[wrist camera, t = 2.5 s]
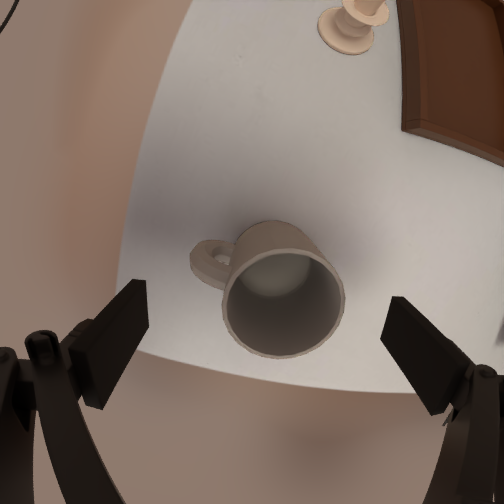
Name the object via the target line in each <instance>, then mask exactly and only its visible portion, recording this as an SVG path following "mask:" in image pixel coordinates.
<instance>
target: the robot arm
mask: <svg viewBox="0 0 504 504" xmlns="http://www.w3.org/2000/svg"><path fill="white" fill-rule="evenodd" d="M18 2H19V0H15V2H14V4H13V6H12V8H11V10H10V12H9V13H8V15H7V17H6V18H5V20H4V22H3V23H2V25H1V26H0V33H1V32H2V30H3V29H4V27H5V26H6V24H7V23H8V21H9V19H10V17H11V16H12V14H13V12H14V10H15V9H16V6H17V4H18ZM148 328H149V320H148V307H147V291H146V280H138V279H132V280H131V281H130V282H129V283H128V284H127V285H126V286H125V287H124V288H123V289H122V290H121V291H120V292H119V293H118V294H117V295H116V296H115V297H114V298H113V300H111V301H110V302H109V304H108V305H107V306H106V307H105V308H104V309H103V310H102V311H101V312H100V313H99V314H98V315H97V316H96V318H94V320H93V319H86V320H84V321H82V322H80V323H79V324H78V325H77V326H76V327H75V328H74V329H73V331H71V332H70V333H69V334H68V335H67V336H66V337H65V338H64V339H63V340H62V341H61V343H59V342H58V338H57V336H56V334H55V333H54V332H52V331H48V330H39V331H36V332H33V333H31V334H30V335H28V336H27V337H26V339H25V346H26V349H27V352H28V355H29V358H30V360H26V359H18V358H17V355H16V353H15V351H14V350H13V349H12V348H10V347H0V504H34V491H33V443H34V442H33V441H34V428H35V416H36V411H38V412H39V417H40V421H41V426H42V430H43V434H44V438H45V442H46V446H47V450H48V453H49V456H50V460H51V463H52V466H53V469H54V472H55V475H56V478H57V481H58V484H59V486H60V489H61V492H62V494H63V497H64V499H65V502H66V504H126V503H125V501H124V500H123V498H122V496H121V495H120V493H119V491H118V489H117V488H116V486H115V484H114V482H113V480H112V478H111V476H110V475H109V473H108V471H107V469H106V467H105V465H104V463H103V461H102V459H101V457H100V455H99V452H98V450H97V448H96V446H95V444H94V442H93V439H92V437H91V434H90V432H89V430H88V428H87V425H86V422H85V420H84V417H83V415H82V412H81V409H80V407H79V404H78V400H79V398H80V397H81V395H82V397H83V399H84V402H85V405H86V406H90V407H94V408H97V409H100V410H103V408H104V406H105V404H106V403H107V401H108V399H109V397H110V395H111V393H112V391H113V389H114V387H115V386H116V384H117V382H118V380H119V378H120V377H121V375H122V373H123V371H124V370H125V368H126V366H127V364H128V363H129V361H130V359H131V357H132V355H133V354H134V352H135V350H136V348H137V347H138V345H139V343H140V342H141V340H142V338H143V336H144V335H145V333H146V331H147V330H148ZM380 340H381V341H382V343H383V344H384V346H385V347H386V348H387V350H388V351H389V353H390V354H391V356H392V357H393V359H394V360H395V362H396V363H397V364H398V366H399V367H400V369H401V370H402V372H403V373H404V375H405V376H406V378H407V379H408V381H409V382H410V384H411V385H412V387H413V388H414V390H415V392H416V393H417V395H418V396H419V397H420V399H421V401H422V402H423V404H424V405H425V407H426V408H427V410H428V412H429V413H430V415H431V416H433V415H437V414H441V413H444V411H445V410H446V408H447V406H448V405H449V403H451V404H452V406H453V409H452V411H451V412H450V414H449V415H448V417H447V419H446V420H445V422H444V423H443V426H445V424H446V423H448V424H447V428H446V433H445V437H444V441H443V444H442V448H441V452H440V456H439V459H438V462H437V465H436V468H435V471H434V474H433V478H432V480H431V483H430V486H429V488H428V491H427V494H426V497H425V499H424V501H423V504H504V375H497V372H496V371H495V370H494V369H493V368H491V367H490V366H487V365H483V364H479V365H477V366H476V365H475V364H474V363H473V362H472V361H471V360H470V358H469V357H468V356H467V355H466V354H465V353H464V352H462V350H461V349H460V348H458V346H457V345H456V344H455V343H454V342H453V341H451V340H450V339H448V338H446V337H445V336H444V335H443V334H442V333H441V332H440V331H439V330H438V329H437V328H436V327H435V326H434V325H433V324H432V323H431V322H430V321H429V320H428V319H427V318H426V317H425V316H424V315H423V314H421V313H420V312H419V311H418V310H417V309H416V308H415V307H414V306H413V305H412V304H411V303H410V302H409V301H408V300H406V299H405V298H404V297H398V296H392V299H391V303H390V306H389V310H388V314H387V317H386V321H385V324H384V328H383V331H382V334H381V338H380ZM493 493H494V501H495V502H493Z"/></svg>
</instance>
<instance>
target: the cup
mask: <svg viewBox="0 0 504 504" xmlns="http://www.w3.org/2000/svg"><path fill="white" fill-rule="evenodd" d="M219 261H220V262H219ZM221 262H224V263H227V264H229V265H226V264H223V263H221ZM190 265H191V269H192V271H193V273H194V274H195V275H196V276H197V277H198V278H199V279H200V280H202V281H203V282H205V283H207V284H209V285H211V286H213V287H215V288H218V289H221V290H223V291H224V295H223V300H222V313H223V320H224V322H225V325H226V327H227V330H228V332H229V333H230V335H231V336H232V337H233V338H234V340H235V341H236V342H237V343H238V344H239V345H240V346H242V347H243V348H245V349H246V350H247V351H249V352H251V353H254V354H256V355H259V356H261V357H265V358H272V359H288V358H294V357H298V356H301V355H304V354H307V353H309V352H311V351H313V350H314V349H316V348H318V347H320V346H321V345H322V344H323V343H324V342H325V341H327V340H328V339H329V338H330V337H331V336H332V334H333V333H334V331H335V330H336V329H337V327H338V326H339V324H340V321H341V318H342V316H343V313H344V307H345V293H344V288H343V283H342V281H341V279H340V277H339V276H338V274H337V272H336V270H335V269H334V268H333V266H332V265H331V264H330V263H329V262H328V260H327V259H326V258H325V257H324V256H323V254H322V253H321V252H320V251H319V250H318V249H317V247H316V246H315V245H314V244H313V243H312V241H311V240H310V239H309V238H308V237H307V236H306V235H305V234H304V233H303V232H302V231H301V230H299V229H298V228H296V227H294V226H292V225H291V224H289V223H284V222H280V221H266V222H263V223H259V224H256V225H254V226H252V227H251V228H249V229H248V230H246V231H245V232H244V233H243V234H242V235H241V236H240V237H239V238H238V240H237V242H236V243H235V244H232V243H229V242H225V241H219V240H206V241H201V242H200V243H198V244H197V245H196V246H195V247H194V248H193V250H192V251H191V253H190Z"/></svg>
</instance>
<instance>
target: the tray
mask: <svg viewBox="0 0 504 504" xmlns="http://www.w3.org/2000/svg"><path fill="white" fill-rule="evenodd" d="M396 1H397V8H398V17H399V27H400V38H401V53H402V84H403V101H402V131H404V132H407V133H411V134H414V135H418V136H421V137H424V138H428V139H431V140H434V141H437V142H440V143H443V144H446V145H449V146H452V147H455V148H458V149H460V150H463V151H466V152H468V153H471V154H474V155H476V156H479V157H481V158H484V159H486V160H488V161H491V162H493V163H496V164H498V165H500V166H502V167H504V1H503V0H396Z"/></svg>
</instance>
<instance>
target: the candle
mask: <svg viewBox="0 0 504 504" xmlns="http://www.w3.org/2000/svg"><path fill="white" fill-rule="evenodd" d="M384 1H385V0H342V4H343V7H342V8H341V7H335V8H331V9H328V10H326V11H324V12H323V13H322V15H321V16H320V18H319V21H318V31H319V33H320V36H321V37H322V39H323V40H324V41H325V42H326V43H327V44H328V45H329V46H330V47H332V48H333V49H335V50H336V51H339V52H341V53H344V54H349V55H358V54H361V53H364V52H365V51H367V50H368V49H369V48H370V47H371V45H372V44H373V40H374V35H373V31H372V28H371V26H380V25H383V24H384V23H386V22H387V20H388V19H389V10H388V7H387V5H386V4H385V2H384Z"/></svg>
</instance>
